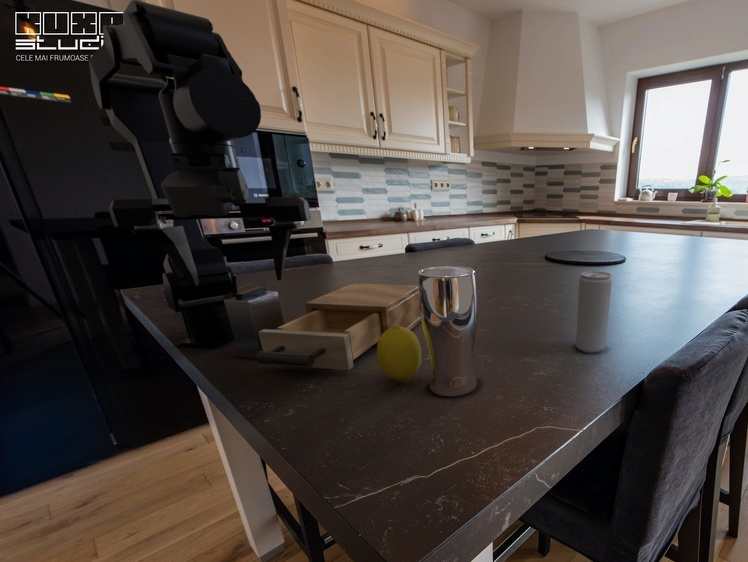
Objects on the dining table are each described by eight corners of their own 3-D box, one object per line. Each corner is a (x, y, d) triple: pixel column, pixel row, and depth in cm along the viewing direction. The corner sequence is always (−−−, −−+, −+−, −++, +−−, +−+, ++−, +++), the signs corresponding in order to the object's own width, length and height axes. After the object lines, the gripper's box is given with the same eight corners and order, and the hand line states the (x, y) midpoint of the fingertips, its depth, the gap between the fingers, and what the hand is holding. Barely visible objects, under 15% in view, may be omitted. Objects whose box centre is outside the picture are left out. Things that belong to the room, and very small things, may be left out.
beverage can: (611, 348, 64) (618, 274, 59) (595, 356, 60) (601, 279, 56) (585, 340, 67) (590, 270, 62) (569, 348, 63) (573, 274, 59)
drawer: (331, 384, 50) (324, 348, 48) (241, 378, 51) (232, 343, 50) (392, 336, 66) (389, 308, 64) (323, 332, 68) (318, 304, 66)
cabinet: (390, 346, 64) (385, 306, 62) (312, 342, 66) (305, 302, 64) (423, 319, 78) (420, 285, 75) (357, 316, 80) (353, 283, 77)
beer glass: (457, 404, 47) (450, 279, 42) (414, 389, 50) (403, 272, 45) (490, 381, 52) (488, 269, 47) (450, 370, 56) (443, 263, 50)
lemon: (413, 393, 49) (406, 333, 46) (372, 389, 50) (364, 330, 47) (430, 374, 54) (425, 319, 52) (393, 371, 55) (386, 317, 53)
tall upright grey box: (238, 357, 60) (221, 294, 57) (267, 343, 66) (253, 285, 62) (262, 359, 59) (246, 295, 56) (289, 344, 65) (276, 286, 62)
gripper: (46, 132, 34) (111, 305, 40) (285, 140, 41) (314, 289, 46) (114, 146, 44) (159, 284, 50) (299, 151, 50) (321, 273, 56)
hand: (239, 282), depth 50 cm, fingers open, 9 cm apart
